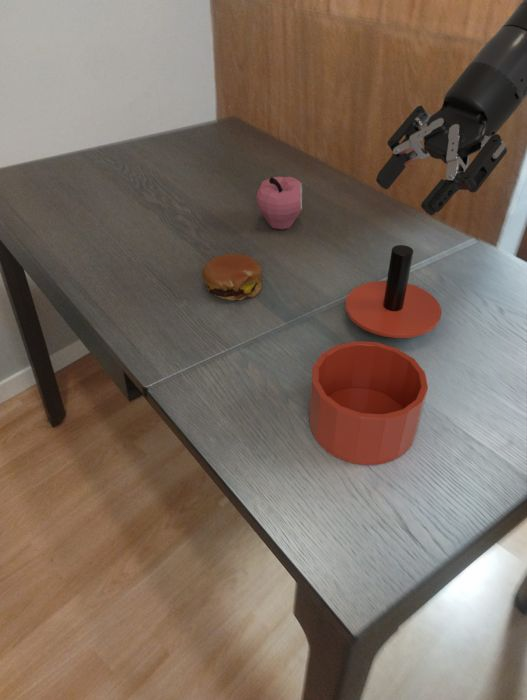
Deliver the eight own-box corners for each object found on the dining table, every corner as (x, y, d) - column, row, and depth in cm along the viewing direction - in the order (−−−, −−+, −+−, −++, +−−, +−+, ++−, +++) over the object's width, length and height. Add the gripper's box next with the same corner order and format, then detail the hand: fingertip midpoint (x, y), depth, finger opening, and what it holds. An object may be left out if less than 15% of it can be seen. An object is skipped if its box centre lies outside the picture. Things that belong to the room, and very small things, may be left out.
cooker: (408, 389, 68) (419, 343, 63) (422, 468, 58) (435, 421, 53) (310, 384, 69) (313, 339, 64) (308, 461, 59) (311, 415, 54)
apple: (298, 239, 98) (300, 187, 92) (252, 235, 100) (251, 183, 93) (305, 216, 105) (307, 166, 99) (263, 213, 107) (262, 163, 100)
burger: (219, 267, 91) (217, 243, 88) (270, 277, 88) (270, 252, 85) (193, 298, 84) (190, 273, 81) (248, 310, 81) (247, 284, 78)
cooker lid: (432, 288, 82) (445, 227, 75) (447, 344, 71) (464, 279, 65) (343, 285, 83) (349, 225, 76) (346, 339, 72) (353, 275, 66)
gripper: (440, 49, 64) (352, 161, 67) (537, 73, 54) (429, 203, 58) (463, 90, 69) (381, 193, 73) (555, 119, 60) (455, 236, 63)
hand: (402, 197), depth 65 cm, fingers open, 8 cm apart
